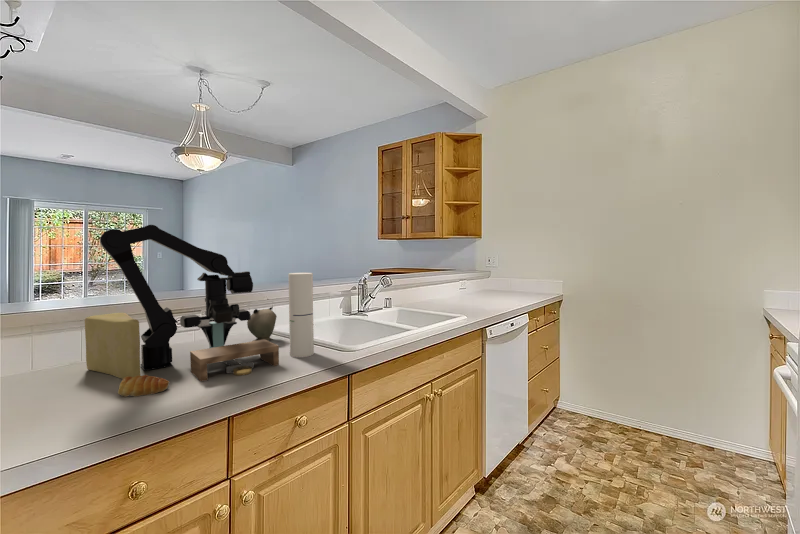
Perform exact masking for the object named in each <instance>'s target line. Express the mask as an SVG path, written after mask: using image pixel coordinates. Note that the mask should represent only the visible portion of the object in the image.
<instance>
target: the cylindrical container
mask: <svg viewBox="0 0 800 534" xmlns="http://www.w3.org/2000/svg"><path fill="white" fill-rule="evenodd" d="M313 275H314V274H313V272H289V273H288V314H289V315H288V316H289V317H288V318H289V319H288V320H289V321H288V324H289V328H288V329H289V330H288V331H289V356H290V357H292V358H308V357H310V356H313V355H314V353H315V348H314V347H315V344H314V343H315V341H314V334H315V333H314V283H313V280H314V279H313V278H314V277H313Z"/></svg>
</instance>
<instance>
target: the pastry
mask: <svg viewBox="0 0 800 534" xmlns="http://www.w3.org/2000/svg"><path fill="white" fill-rule="evenodd" d="M169 384H170V381H169V380H167V379H166V378H163V377H160V376H159V377H158V376H154V375H153V376H152V375H149V374H144V375H141V376H139V375H138V376H135V377H128V376H127V377H125V378H123V379H121V382H120V383H119V386H118V391H117V394H118V395H119V396H121V397H125V398H126V397H129V396H131V397H140V396H149V395H154V394H158V393H161V392H164V391H165V390H167V389H168V388H169Z"/></svg>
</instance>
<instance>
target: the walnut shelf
mask: <svg viewBox="0 0 800 534" xmlns="http://www.w3.org/2000/svg"><path fill="white" fill-rule="evenodd" d="M279 349H280V345H278V344H277V343H274V342H271V341H270V340H269V341H267V340H265V339H264V340H258V341H253V340H252V341H251V340H250V341H247V342H240V343H234V344H228V345H226V344H225V345H224V346H220V347H214V348H203V349H197V350H196V349H195V350H190V351H189V354H190V356H189V357H190V358H189V359H190V360H189V361H190V373H191V374H192V375H194V377H195V378H197V380H198V381H200V382H205V381H208V365H209V364H216V363H221V362H223V361H227V360H232V359H234V360H236V359H241V358H248V357H253V356H259V359H260V360H262V361H263V362H266V363H268V364H269V365H271V366H273V367H277V366H280V353H279V352H280V350H279Z"/></svg>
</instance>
